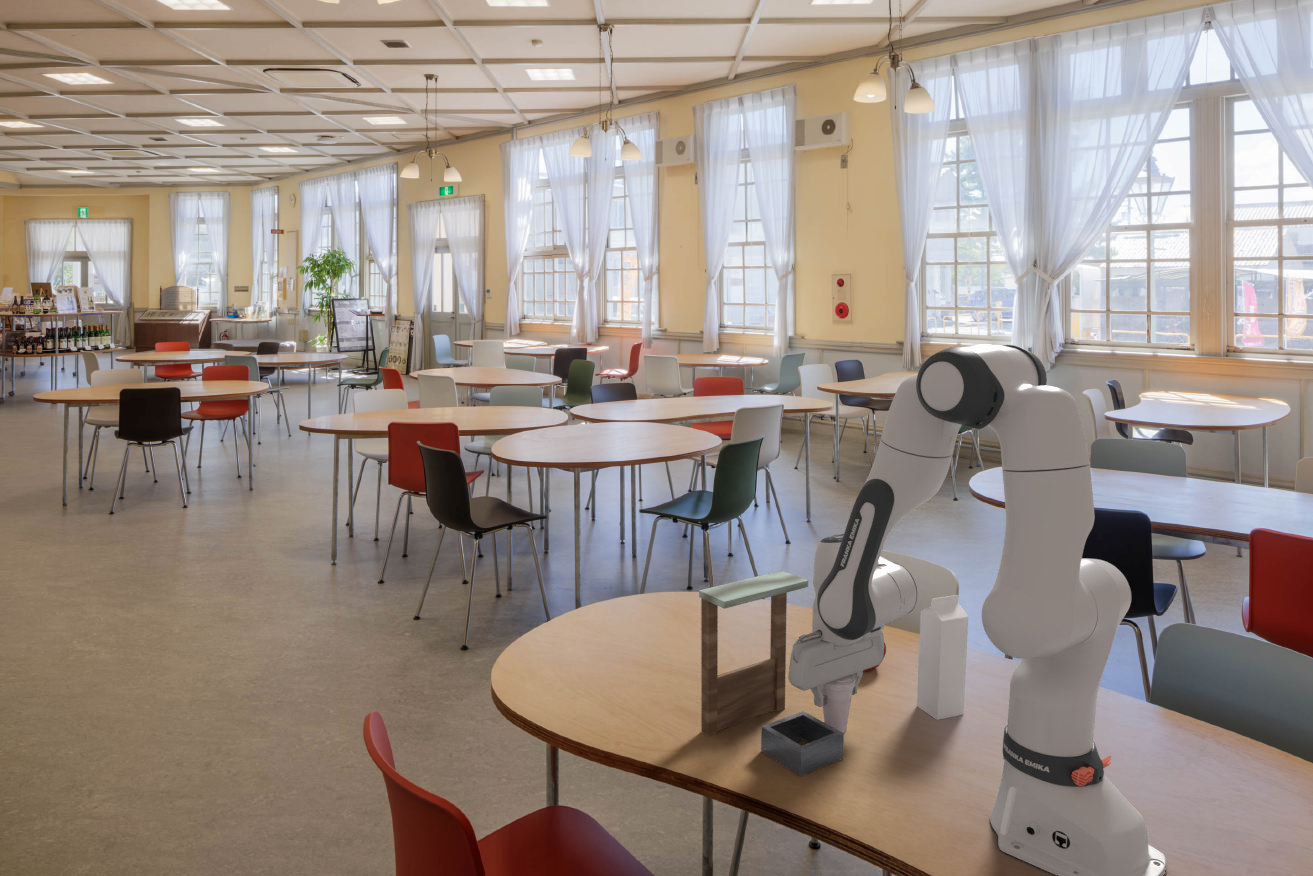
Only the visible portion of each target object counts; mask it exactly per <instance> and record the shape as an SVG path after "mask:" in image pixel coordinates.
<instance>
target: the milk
mask: <svg viewBox="0 0 1313 876" xmlns="http://www.w3.org/2000/svg"><path fill="white" fill-rule="evenodd" d="M919 618H920V619H919V643H918V644H919V647H918V666H917V667H918V668H917V669H918V670H917V671H918V672H917V694H916V695H917V697H916V707H918V709H920V710H922V711H923V712H925V713H926V714H928V715H929V716H931V717H932V718H934V719H935V720H936V721H939V720H944V719H949V718H954V717H957V716H958V717H959V716H962V715H964V714H965V713H964V710H965V693H966V691H965V690H966V673H967V657H968V656H967V654H968V634H969V631H968V629H969V615H968V614H967V613H966V611H965V610H964V609H963V607H962V606H961V604H960V603H959V595H958V594H953V595H948V596H940V597H934V598H931V601H930V606H928V607H926V608H923V609H921V610H920V617H919Z"/></svg>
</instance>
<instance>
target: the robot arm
mask: <svg viewBox="0 0 1313 876" xmlns="http://www.w3.org/2000/svg"><path fill="white" fill-rule="evenodd" d="M1047 376H1048V375H1047V373H1046V369H1045V366H1044V364H1043V362H1042V361H1041V359H1040V358H1039V357H1038V356H1037V355H1035V354H1034V353H1033V352H1032V351H1030V350H1028V349H1026V348H1025V347H1020V346H1018V345H1017V346H1016V345H1012V344H1003V345H998V344H990V343H989V344H988V343H974V344H969V345H962V346H951V347H947V348H945V349H941V350H939V351H937V352H935V353H934V354H932V355H930V356H929V357H928V358H927V359H926V360H925V361H924V362H923V364H922V365H921V366H920V368H919V370H918V373H917V375H914V376H910V377H908V378H906V379H904V381H902V382H901V383H900V384H899V386H898V388H897V390H896V392H895V395H894V396H893V399H892V401H891V404H890V407H889V409H888V412H887V415H886V417H885V421H884V425H883V426H882V427H883V428H882V432H881V437H880V440H879V445H878V448H877V451H876V455H875V456H874V457H875V458H874V460H873V463H872V467H871V468H870V469H871V470H870V471H869V474H868V476H867V478H866V480H865V482H864V484H863V486H862V487H861V489H860V491H859V493H858V494H857V496H856V499H855V502H854V504H853V507H852V510H851V512H850V515H849V518H848V521H847V524H846V527H845V530H844V532H843V533H840V534H834V535H831V536H827V537H825V538H822V539H820V541H819V542H818V544H817V546H816V549H815V553H814V561H813V571H812V572H813V573H812V574H813V575H812V576H813V577H812V584H813V589H814V593H815V594H814V599H813V602H812V613H811V614H812V619H811V622H812V623H811V624H812V625H811V632H809V633H806V634H802V635H800V636H799V637H798V639H797V640H796V641H795V642H794V643H793V645H792V648H791V649H792V650H791V654H790V657H789V658H790V659H789V665H788V666H789V667H788V674H787V675H788V676H787V677H788V682H789V683H790V684H791V685H792V686H793V687H795V688H797V689H799V690H801V691H804V692H805V691H808V690H810V691H811V693H812V694H813V696H814V697H813V702H814V703H813V704H814V705H815V706H817V707H819V708H823V706H825V705H827V696H826V695H823V694H822V691H821V690H822V689H823V687H824V684H826V683H828V682H831V681H834V680H837V679H840V678H843V677H845V676H848V675H852V676H853V677H854V678H855V687H854V688H853V692H852V696H854V695H857V694H858V686H859V684H860V682H861V680H862V677H863V676H864V671H863V670H865V669H868V668H871V667H874V666H877V665H879V664H880V665H881V663H882V662H883V660H884V658H883V654H884V642H885V636H884V631H883V630H884V627H885V625H888V624H890V623H892V622H893V621H894V622H895V621H896V620H899V619H901V618H903V617H905V616H906V615H908V614H910V613H911V612H913V610H914V608H915V607H916V605H917V600H918V587H917V584H916V581H915V578H914V577H913V575H912V573H911V572H910V571H909V570H908V569H907V568H906V567H904V566H903V565H902V564H900V563H898V562H892V561H890V560H888V559H887V558H885V557H884V556H882V555H881V554H882V552H883V550H884V545H885V543H886V540H887V538H888V536H889V534H890V533H891V531H892V530H893V529H894V528H895V526H896V525H897V524H898V523H899V522H900V521H901V520H903V519H904V517H906V516H907V515H909V514H910V513H911V512H912V511H913V510H915V509H917V508H918V507H919V506H921V505H923V504H924V503H926V502H928V501H929V500H930V499H932V498H933V497H934V496H936V495H937V494H938V493H939V491H940V489H941V487H942V486H943V484H944V482H945V480H946V477H947V475H948V473H949V470H950V466H951V462H952V459H953V455H954V451H955V445H956V442H957V441H956V440H957V437H958V434H959V431H960V429H961V428H962V426H965V427H967V428H968V427H969V428H972V429H975V430H982V429H984V428H985V427H989V428H990V429H991V430H992V431H994V433H995V434H996V436H997V438H998V441H999V442H998V443H999V445H1000V446H999V447H1000V455H1001V456H1000V457H1001V470H1002V480H1003V491H1004V492H1003V494H1004V508H1005V509H1004V510H1005V532H1004V540H1003V547H1002V552H1001V553H1002V554H1001V557H1000V561H999V562H1000V563H999V568H998V571H997V575H996V579H995V581H994V584H993V586H992V588H991V589H990V592H989V594H988V595H987V596H986V598H985V599H984V601H983V604H982V608H981V624H982V626H983V629H984V632H985V634H986V636H987V638H988V639H989V641H990V642H991V644H992V645H993V646H994V647H995V648H996V649H998V650H999V651H1000V652H1001V653H1002V654H1005V655H1007V656H1009V657H1012V658H1014V659H1020V661H1019V663H1018V664H1017V666H1015V667H1016V668H1015V669H1014V670H1013V672H1012V675H1011V678H1010V682H1009V696H1008V698H1009V699H1008V713H1007V716H1008V717H1007V725H1006V726H1005V727H1004V731H1003V741H1002V757H1003V760H1004V761H1003V762H1004V763H1003V770H1002V773H1001V774H1002V776H1001V780H1000V784H999V789H998V792H997V796H996V799H995V802H994V804H993V807H992V809H991V811H990V813H989V821H990V825H991V827H992V829H993V830H994V831H995V833H996V835H997V837H998V838H997V845H998V848H999V850H1001V852H1004V853H1006V854H1008V855H1010V856H1012V857H1014V858H1017V859H1019V860H1021V861H1023V862H1026V863H1028V864H1030V865H1033V866H1035V867H1037V868H1039V869H1041V870H1043V871H1045V872H1049V873H1050V874H1053V875H1055V876H1057V875H1058V876H1162V875H1163V873H1164V872H1165V868H1166V869H1167V859H1166V856H1165V854H1164V853H1163V852H1162V851H1159V850H1158V849H1157V848H1155V847H1154V846H1152V845H1151V844H1149V836H1148V835H1149V834H1148V829H1147V825H1146V821H1145V819H1144V817H1143V815H1142V814H1141V813H1140V812H1139V811H1138V810H1137V809H1136V808H1135V806H1133V805H1132V804H1131V802H1130V801H1129V800H1128V799H1127V798H1126V797H1125V796H1124V794H1122V792H1121V791H1120V790H1119V789H1118V788H1117V787H1116V786H1115V785H1114V783H1112V781H1111V780H1110V779H1109V778H1108V777H1107V776H1106V775H1105V770H1104V769H1105V768H1107V767H1108V766H1110V765H1111V763H1112V761H1111V759H1112V756H1111V755H1109V756H1106V757H1105V758H1103V759H1101V757H1100V754H1099V752H1098V748H1097V746H1096V744H1095V742H1094V734H1095V722H1096V714H1097V713H1096V711H1097V701H1098V693H1099V689H1100V684H1101V681H1102V678H1103V675H1104V671H1105V669H1106V665H1107V662H1108V659H1109V657H1110V653H1111V650H1112V647H1113V644H1114V640H1115V636H1116V635H1117V634H1116V633H1117V631H1118V629H1119V627H1120V625H1121V623H1122V621H1123V620H1124V618H1125V616H1126V614H1127V613H1128V612H1129V609H1130V607H1131V603H1132V590H1131V587H1130V585H1129V582H1128V580H1127V578H1126V576H1125V575H1124V574H1123V572H1121V570H1120V569H1118V568H1117V567H1116V566H1115V565H1114V564H1112V563H1110V562H1108V561H1105V560H1102V559H1098V558H1088V557H1087V558H1083V554H1084V549H1085V545H1086V542H1087V539H1088V537H1089V535H1090V533H1091V531H1092V529H1093V527H1094V524H1095V518H1096V517H1095V505H1094V496H1093V495H1094V494H1093V484H1092V475H1091V473H1092V471H1091V461H1090V452H1089V446H1088V445H1089V444H1088V440H1087V435H1086V430H1085V425H1084V422H1083V419H1082V415H1081V411H1080V408H1079V405H1078V403H1077V399H1076V398H1075V397H1074V396H1073V394H1072V393H1070V392H1069V391H1067V390H1065V389H1064V388H1060V387H1057V386H1052V385H1047V384H1048V383H1047V380H1048V379H1047ZM882 659H883V660H882ZM881 661H882V662H881ZM880 665H879V666H880ZM1155 864H1158V865H1160V866H1157V865H1155ZM1165 873H1166V872H1165Z"/></svg>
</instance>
